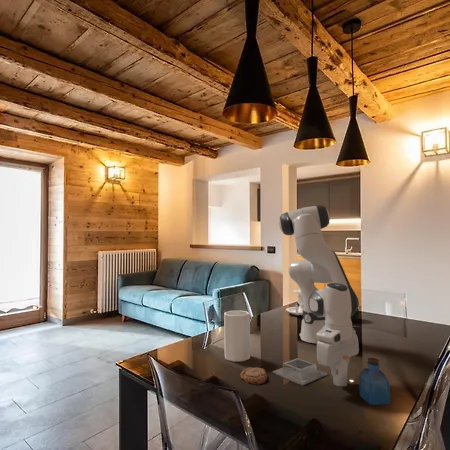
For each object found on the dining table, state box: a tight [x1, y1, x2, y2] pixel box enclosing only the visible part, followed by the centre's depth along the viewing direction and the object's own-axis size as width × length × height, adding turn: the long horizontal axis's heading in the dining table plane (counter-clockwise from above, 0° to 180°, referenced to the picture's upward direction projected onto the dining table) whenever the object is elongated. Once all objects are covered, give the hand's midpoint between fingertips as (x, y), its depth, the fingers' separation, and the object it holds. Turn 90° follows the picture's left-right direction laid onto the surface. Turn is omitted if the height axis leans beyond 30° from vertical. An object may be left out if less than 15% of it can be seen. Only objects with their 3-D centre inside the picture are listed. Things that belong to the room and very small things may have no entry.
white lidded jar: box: [332, 356, 349, 388], centre depth 112 cm, size 5×6×10 cm
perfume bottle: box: [358, 357, 391, 406], centre depth 100 cm, size 6×6×12 cm
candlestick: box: [285, 286, 303, 317], centre depth 217 cm, size 21×25×28 cm
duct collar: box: [272, 358, 328, 387], centre depth 120 cm, size 14×14×4 cm
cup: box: [223, 309, 251, 363], centre depth 138 cm, size 11×11×18 cm
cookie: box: [239, 366, 268, 385], centre depth 117 cm, size 10×11×3 cm
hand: (339, 372), depth 112 cm, fingers closed on white lidded jar, 5 cm apart
